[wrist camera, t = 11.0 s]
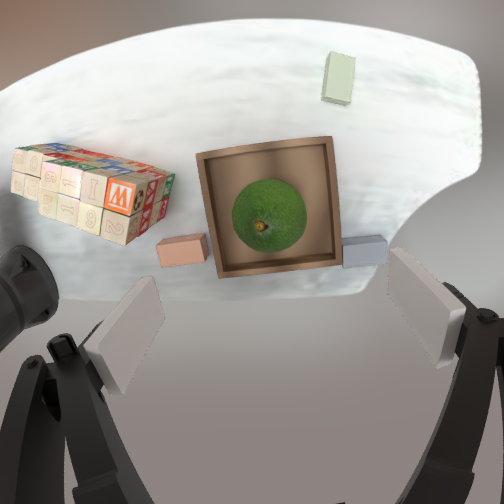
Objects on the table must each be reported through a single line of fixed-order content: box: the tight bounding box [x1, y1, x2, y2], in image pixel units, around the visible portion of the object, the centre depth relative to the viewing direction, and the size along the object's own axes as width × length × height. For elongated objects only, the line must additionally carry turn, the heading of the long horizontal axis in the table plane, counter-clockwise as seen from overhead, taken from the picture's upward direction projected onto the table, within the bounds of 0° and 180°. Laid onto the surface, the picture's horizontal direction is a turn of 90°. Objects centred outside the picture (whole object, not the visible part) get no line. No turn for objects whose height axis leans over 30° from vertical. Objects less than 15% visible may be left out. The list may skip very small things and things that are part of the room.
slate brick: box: [341, 235, 388, 269], centre depth 37 cm, size 6×3×3 cm, turn 97°
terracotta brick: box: [156, 233, 209, 267], centre depth 38 cm, size 6×3×3 cm, turn 99°
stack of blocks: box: [11, 143, 175, 246], centre depth 31 cm, size 21×6×12 cm, turn 72°
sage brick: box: [321, 51, 356, 105], centre depth 30 cm, size 6×3×3 cm, turn 172°
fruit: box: [232, 179, 307, 253], centre depth 31 cm, size 8×8×12 cm
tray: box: [196, 136, 342, 278], centre depth 35 cm, size 16×16×3 cm
